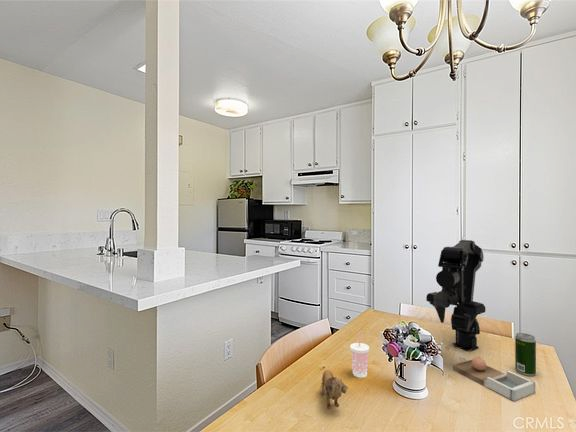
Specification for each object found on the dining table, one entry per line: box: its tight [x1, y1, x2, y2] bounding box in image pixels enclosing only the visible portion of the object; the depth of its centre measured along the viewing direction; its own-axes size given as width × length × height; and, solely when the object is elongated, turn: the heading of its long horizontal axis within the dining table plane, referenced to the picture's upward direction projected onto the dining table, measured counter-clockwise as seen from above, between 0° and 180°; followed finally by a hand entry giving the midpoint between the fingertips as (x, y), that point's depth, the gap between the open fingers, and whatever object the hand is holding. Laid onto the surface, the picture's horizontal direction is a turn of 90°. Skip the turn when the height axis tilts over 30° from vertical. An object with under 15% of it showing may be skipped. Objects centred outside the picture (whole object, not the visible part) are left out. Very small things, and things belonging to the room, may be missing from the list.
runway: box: [452, 359, 507, 388], centre depth 99 cm, size 12×10×2 cm
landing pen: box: [486, 370, 536, 402], centre depth 91 cm, size 8×10×3 cm
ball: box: [471, 356, 487, 370], centre depth 100 cm, size 4×4×4 cm
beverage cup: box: [350, 331, 370, 379], centre depth 101 cm, size 6×6×14 cm
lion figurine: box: [320, 369, 349, 410], centre depth 87 cm, size 15×5×9 cm, turn 14°
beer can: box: [514, 332, 537, 377], centre depth 100 cm, size 5×5×12 cm
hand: (454, 326), depth 109 cm, fingers open, 9 cm apart
